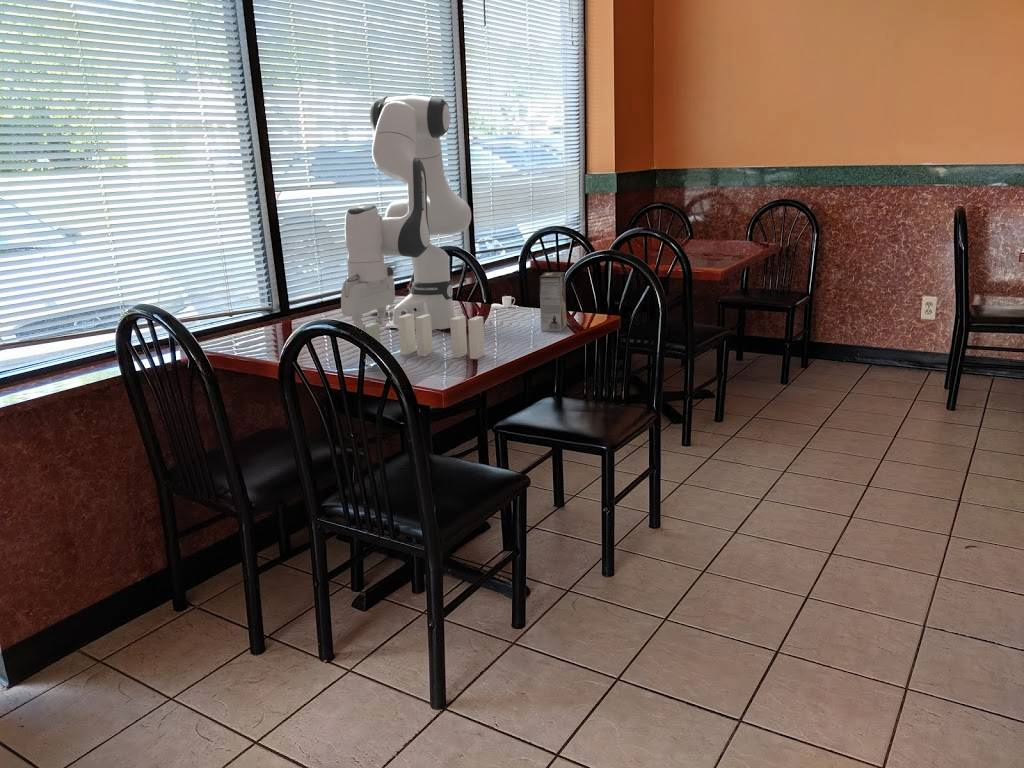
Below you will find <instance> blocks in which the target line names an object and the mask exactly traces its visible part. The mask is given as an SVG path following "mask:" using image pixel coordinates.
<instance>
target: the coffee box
mask: <svg viewBox="0 0 1024 768" xmlns="http://www.w3.org/2000/svg"><path fill="white" fill-rule="evenodd" d="M538 279H539V302H540V303H539V305H540V308H539V309H540V331H541V332H560V331H561V332H562V331H563V330H564V329H565V327H566V326H567V303H566V302H567V298H566V296H567V295H566V293H567V292H566V291H567V290H566V272H565V271H553V272H552V271H551V272H543V273H542V275H540V276H539V278H538Z"/></svg>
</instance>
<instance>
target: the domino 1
mask: <svg viewBox="0 0 1024 768" xmlns="http://www.w3.org/2000/svg"><path fill="white" fill-rule="evenodd" d="M380 329H381V328H380V325H379V323H376V322H371V323H368V324H365V331H364V332H366V333H368V334H369V335H371V336H372V337H374V338H375V339H376V340H378V341H379V342H380V343H381V342H382V341H381V332H380ZM381 344H382V343H381ZM366 360H367V362H368V361H369V362H370V361H371V362H373V361H372V360H371V358H370V357H369V356H368V355H366Z"/></svg>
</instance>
